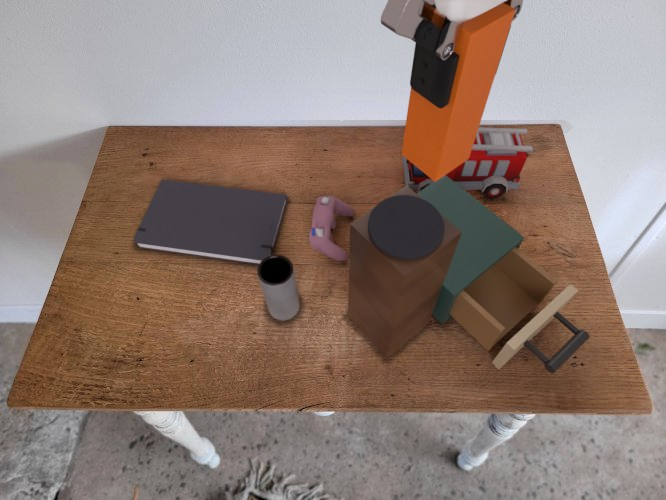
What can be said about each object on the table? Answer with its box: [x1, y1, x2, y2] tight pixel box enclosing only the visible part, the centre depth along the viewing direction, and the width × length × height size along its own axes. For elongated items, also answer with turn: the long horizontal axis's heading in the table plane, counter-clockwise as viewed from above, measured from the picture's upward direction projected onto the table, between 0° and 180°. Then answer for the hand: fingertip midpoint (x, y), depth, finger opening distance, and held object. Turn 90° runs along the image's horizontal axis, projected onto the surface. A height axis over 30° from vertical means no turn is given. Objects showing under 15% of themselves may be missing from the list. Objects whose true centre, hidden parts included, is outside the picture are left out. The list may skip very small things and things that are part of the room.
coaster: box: [368, 195, 444, 259], centre depth 49 cm, size 8×8×1 cm
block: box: [400, 3, 516, 182], centre depth 35 cm, size 4×4×13 cm
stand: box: [347, 185, 462, 359], centre depth 58 cm, size 8×8×22 cm
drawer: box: [449, 247, 591, 374], centre depth 63 cm, size 18×12×7 cm
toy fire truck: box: [401, 126, 534, 200], centre depth 77 cm, size 9×19×10 cm, turn 90°
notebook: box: [133, 178, 288, 266], centre depth 76 cm, size 13×2×21 cm
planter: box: [256, 254, 301, 321], centre depth 64 cm, size 4×4×10 cm
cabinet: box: [416, 175, 525, 325], centre depth 69 cm, size 15×14×9 cm
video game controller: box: [308, 195, 355, 262], centre depth 73 cm, size 10×5×7 cm, turn 172°
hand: (452, 79), depth 34 cm, fingers closed on block, 4 cm apart
